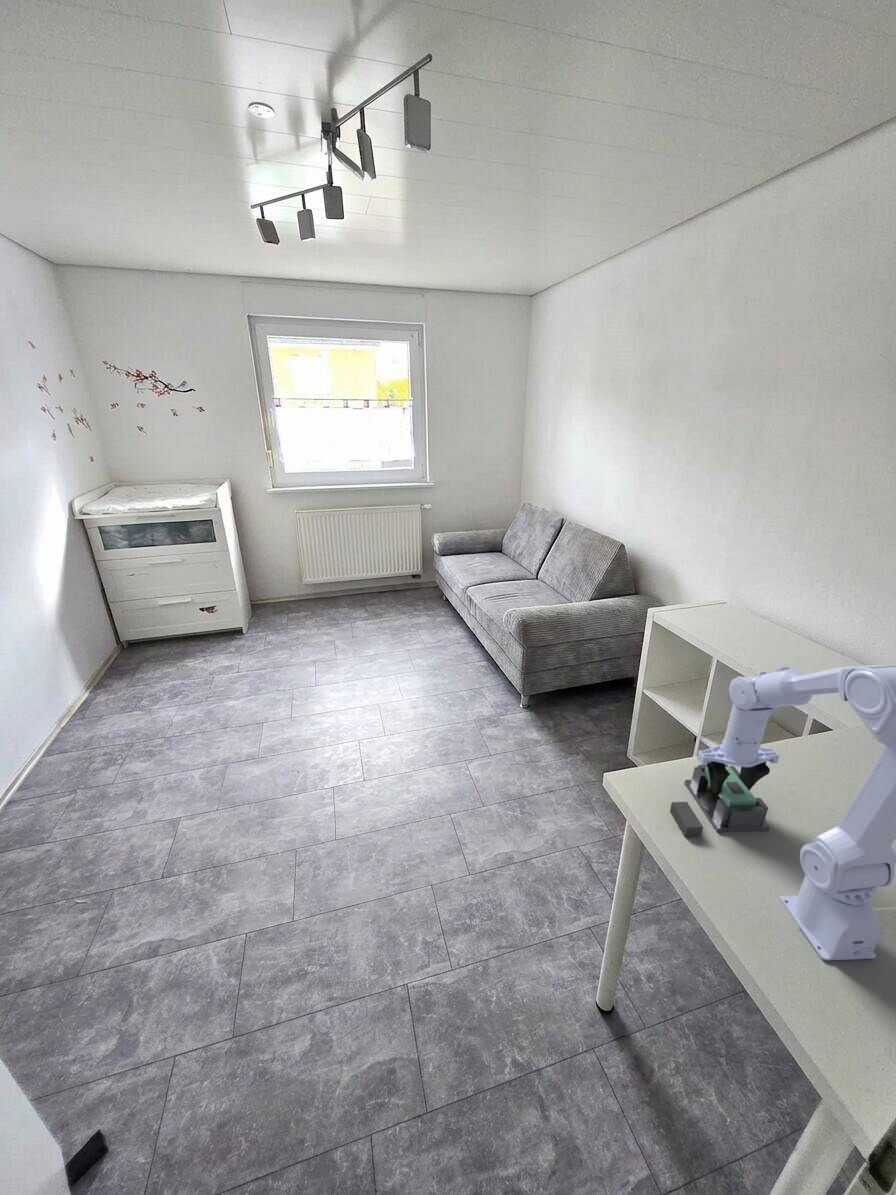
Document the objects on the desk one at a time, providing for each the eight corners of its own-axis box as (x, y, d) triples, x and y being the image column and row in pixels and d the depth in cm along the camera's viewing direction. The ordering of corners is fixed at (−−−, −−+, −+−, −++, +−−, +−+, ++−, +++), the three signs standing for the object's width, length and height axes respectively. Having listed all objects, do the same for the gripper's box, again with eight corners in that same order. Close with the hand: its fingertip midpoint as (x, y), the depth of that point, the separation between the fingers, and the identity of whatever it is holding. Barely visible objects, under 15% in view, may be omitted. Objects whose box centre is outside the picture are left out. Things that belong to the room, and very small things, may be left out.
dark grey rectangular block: (700, 836, 88) (703, 827, 87) (684, 837, 88) (687, 827, 87) (684, 811, 94) (687, 801, 93) (669, 811, 94) (671, 802, 93)
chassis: (730, 782, 101) (735, 763, 99) (769, 830, 89) (775, 810, 87) (684, 783, 100) (688, 764, 99) (716, 832, 89) (722, 812, 87)
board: (727, 774, 98) (730, 764, 97) (754, 808, 89) (757, 797, 88) (703, 774, 98) (706, 764, 97) (728, 809, 89) (731, 798, 88)
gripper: (768, 719, 92) (752, 774, 97) (694, 721, 92) (682, 776, 97) (793, 743, 86) (775, 801, 91) (714, 745, 85) (700, 803, 90)
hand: (728, 790), depth 93 cm, fingers closed on board, 5 cm apart
